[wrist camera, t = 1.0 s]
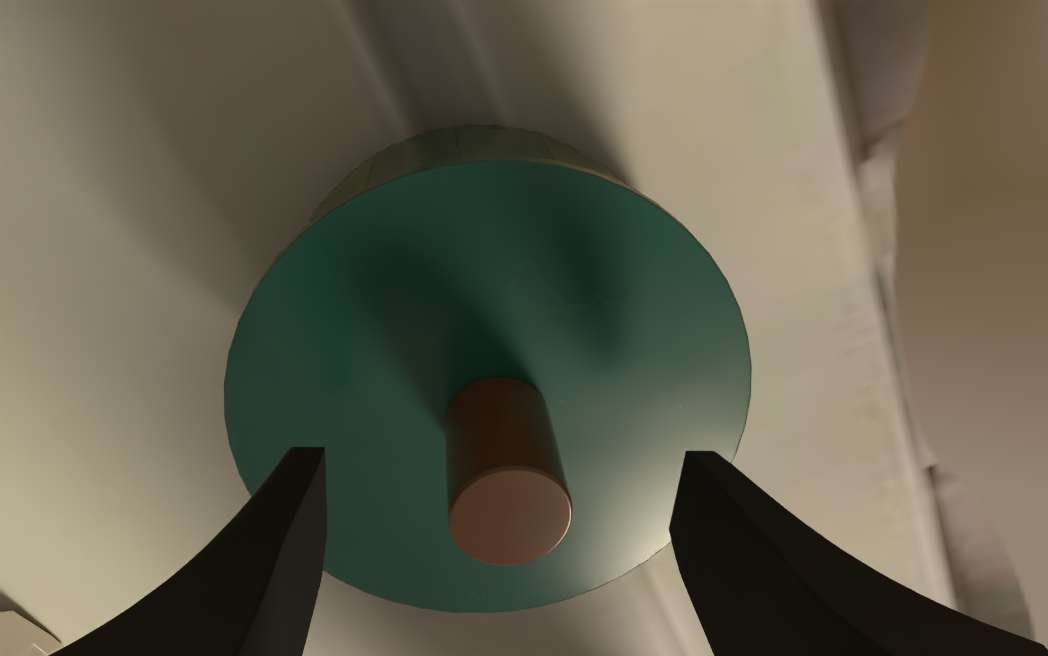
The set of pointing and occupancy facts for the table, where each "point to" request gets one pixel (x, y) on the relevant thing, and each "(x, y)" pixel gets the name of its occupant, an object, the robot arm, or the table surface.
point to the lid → (490, 379)
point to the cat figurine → (24, 637)
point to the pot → (457, 154)
